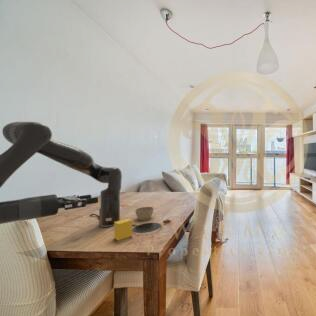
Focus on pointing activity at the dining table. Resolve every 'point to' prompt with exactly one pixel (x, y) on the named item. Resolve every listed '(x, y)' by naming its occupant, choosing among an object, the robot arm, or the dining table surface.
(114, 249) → the dining table surface
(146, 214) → the beige bowl
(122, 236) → the sponge
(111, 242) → the dining table surface
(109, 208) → the robot arm
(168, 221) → the brown small block
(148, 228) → the pan
